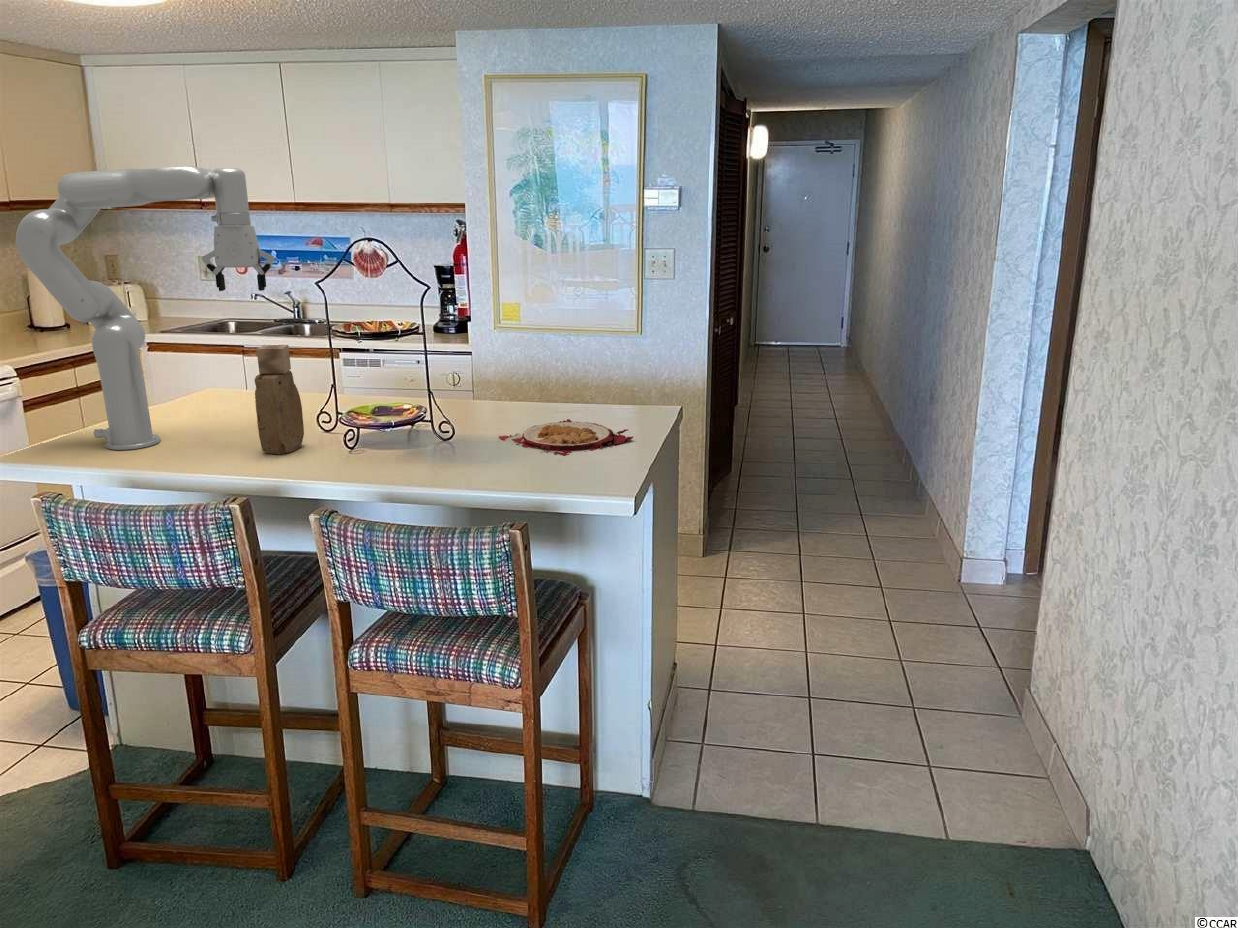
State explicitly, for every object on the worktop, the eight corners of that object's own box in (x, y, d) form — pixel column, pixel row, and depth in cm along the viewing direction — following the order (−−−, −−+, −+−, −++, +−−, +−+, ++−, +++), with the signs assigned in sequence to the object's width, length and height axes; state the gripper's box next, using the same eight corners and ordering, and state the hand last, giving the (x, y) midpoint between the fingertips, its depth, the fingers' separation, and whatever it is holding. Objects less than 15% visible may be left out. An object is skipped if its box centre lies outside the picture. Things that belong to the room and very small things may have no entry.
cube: (259, 374, 214) (256, 349, 212) (265, 369, 220) (263, 345, 218) (285, 373, 215) (282, 348, 213) (290, 368, 220) (288, 344, 219)
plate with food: (569, 426, 250) (568, 413, 249) (633, 441, 231) (633, 428, 230) (497, 442, 234) (496, 429, 233) (560, 461, 215) (559, 447, 214)
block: (283, 456, 217) (274, 376, 211) (257, 454, 219) (248, 374, 213) (310, 445, 227) (302, 368, 221) (285, 443, 229) (276, 366, 223)
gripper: (192, 221, 216) (201, 292, 220) (265, 221, 217) (273, 291, 222) (202, 220, 223) (211, 289, 228) (273, 220, 224) (281, 288, 229)
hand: (242, 290), depth 225 cm, fingers open, 9 cm apart
